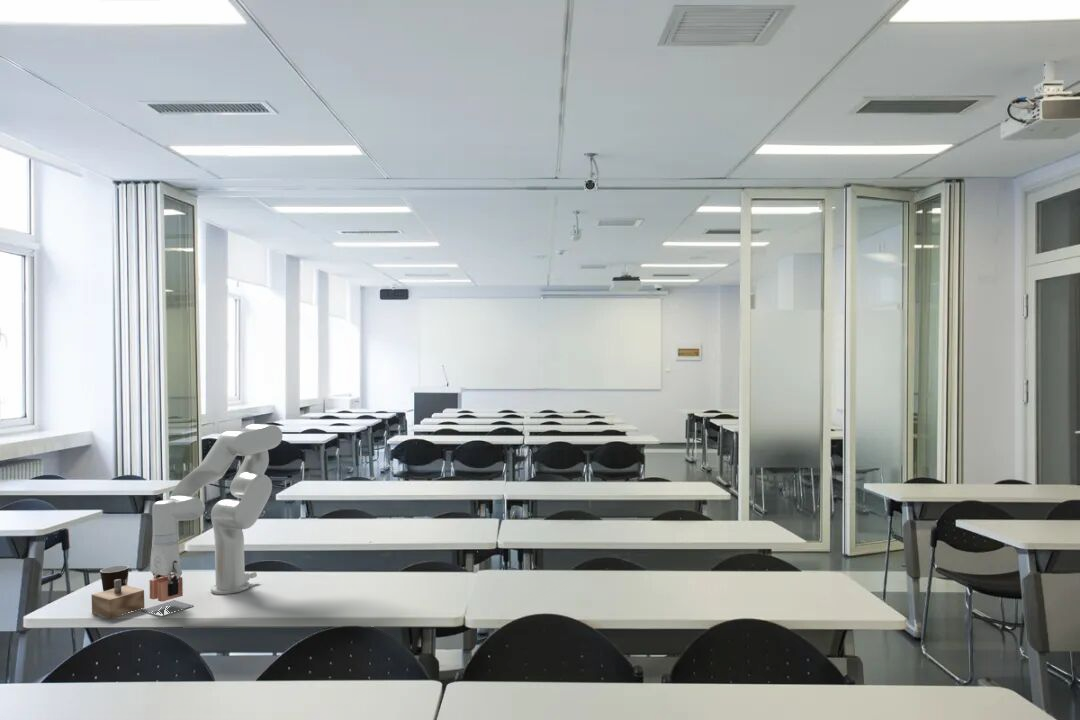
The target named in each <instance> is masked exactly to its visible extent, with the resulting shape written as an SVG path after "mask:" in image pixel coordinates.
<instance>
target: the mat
mask: <svg viewBox="0 0 1080 720" xmlns="http://www.w3.org/2000/svg"><path fill="white" fill-rule="evenodd" d="M166 606H168V607H169V606H170V607H169V608H168V607H167V608H168V609H167V608H166ZM191 606H193V607H194V604H190V603H186V602H182V601H179V600H174V599H172V600H169V601H167V602H166V601H165V602H163V603H159V604H158V605H154V606H150V607H148V608H144V609H141V612H143V611H146V612H150V613H151V612H152V611H153V612H152V613H153V614H154V613H155V614H156V613H157V612H159V611H160V612H161V613H162V614H163V615H164V610H165V608H166V609H167V610H168V611H169V612H170V613H171V612H174V611H178V610H181V609H184V610H186V609H185V608H187V609H189V608H188V607H191ZM161 607H162V608H161ZM160 608H161V609H160ZM191 608H192V607H191ZM159 609H160V610H159ZM158 610H159V611H158ZM167 610H166V611H167ZM168 611H167V612H168ZM181 611H182V610H181ZM146 612H145V613H146ZM160 612H159V613H160ZM169 612H168V613H169ZM178 612H179V611H178ZM161 613H160V614H161ZM153 614H152V615H153Z"/></svg>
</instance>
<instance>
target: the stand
mask: <svg viewBox="0 0 1080 720" xmlns="http://www.w3.org/2000/svg"><path fill="white" fill-rule="evenodd" d="M141 608H144V609H145V590H144V589H141V588H137V587H134V586H130V585H128V584H127V585H125V586H121V579H117V580H114V589H110V590H106V591H103V590H102V591H99V592H95V593H93V594H92V593H91V614H93V613H94V615H96V616H100V617H103V618H107V619H109V620H110V619H113V618H114V617H115V618H118V617H120V615H121V616H123V615H122V614H124V615H126V614H125V613H128V612H131V611H134V612H136V611H135V610H137V611H139V610H138V609H141ZM141 610H142V609H141ZM131 613H132V612H131ZM128 614H129V613H128ZM117 616H118V617H117Z"/></svg>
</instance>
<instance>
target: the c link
mask: <svg viewBox="0 0 1080 720" xmlns="http://www.w3.org/2000/svg"><path fill="white" fill-rule="evenodd" d="M171 577H172V578H173V577H174V575H173V576H171ZM183 583H184V581H183V577H182V576H180V579H179V582H178V594H177V595H173V596H168V584H170V583H169V580H168V577H167V576H163V577H159V578H155V579H153V578H151V579H149V599H151V600H157V601H158V602H161V603H162V602H163V603H164V602H166V601H167V602H168V601H171V600H174V599H177V598H181V597H183V594H184V593H183V592H184V590H183Z"/></svg>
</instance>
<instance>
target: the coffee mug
mask: <svg viewBox="0 0 1080 720" xmlns="http://www.w3.org/2000/svg"><path fill="white" fill-rule="evenodd" d="M129 571H130V566H129V565H123V564H122V565H120V564H119V565H113V566H108V567H104V568H102V569H100V570H99V573H100V578H101V579H100V580H101V584H102V585H101V586H102V592H103V591H106V590H110V589H114V580H117V579H121V586H125V585H127V586H128V581H129Z"/></svg>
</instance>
